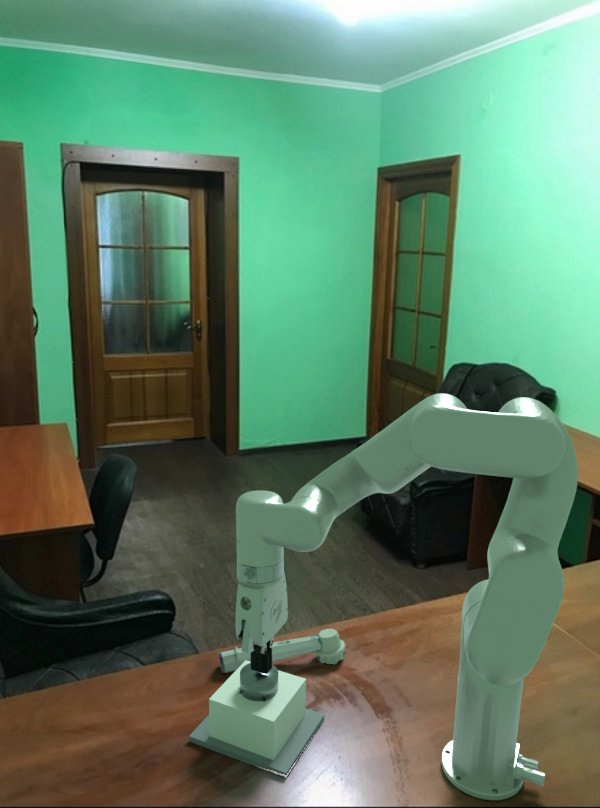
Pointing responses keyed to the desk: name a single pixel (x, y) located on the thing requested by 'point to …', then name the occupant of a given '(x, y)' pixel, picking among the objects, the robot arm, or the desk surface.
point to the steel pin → (258, 683)
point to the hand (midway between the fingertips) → (261, 669)
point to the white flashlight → (292, 650)
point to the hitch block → (259, 724)
